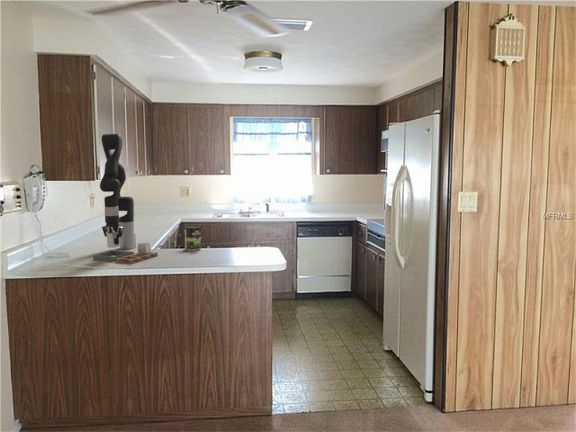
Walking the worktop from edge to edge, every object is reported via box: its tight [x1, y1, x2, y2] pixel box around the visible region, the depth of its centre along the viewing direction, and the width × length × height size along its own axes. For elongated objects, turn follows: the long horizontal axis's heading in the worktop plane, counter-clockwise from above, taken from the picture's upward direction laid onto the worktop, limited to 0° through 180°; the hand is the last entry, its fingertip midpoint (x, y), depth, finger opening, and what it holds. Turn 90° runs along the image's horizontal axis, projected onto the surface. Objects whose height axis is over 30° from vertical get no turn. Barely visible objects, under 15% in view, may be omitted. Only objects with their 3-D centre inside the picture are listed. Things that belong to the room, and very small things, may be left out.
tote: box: [92, 249, 135, 263], centre depth 270 cm, size 16×16×4 cm
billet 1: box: [106, 232, 120, 249], centre depth 269 cm, size 4×6×8 cm
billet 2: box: [137, 241, 151, 255], centre depth 271 cm, size 4×6×8 cm
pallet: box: [115, 251, 159, 266], centre depth 266 cm, size 22×11×3 cm, turn 158°
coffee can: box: [183, 225, 202, 251], centre depth 299 cm, size 10×10×14 cm
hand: (113, 244), depth 269 cm, fingers closed on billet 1, 4 cm apart
